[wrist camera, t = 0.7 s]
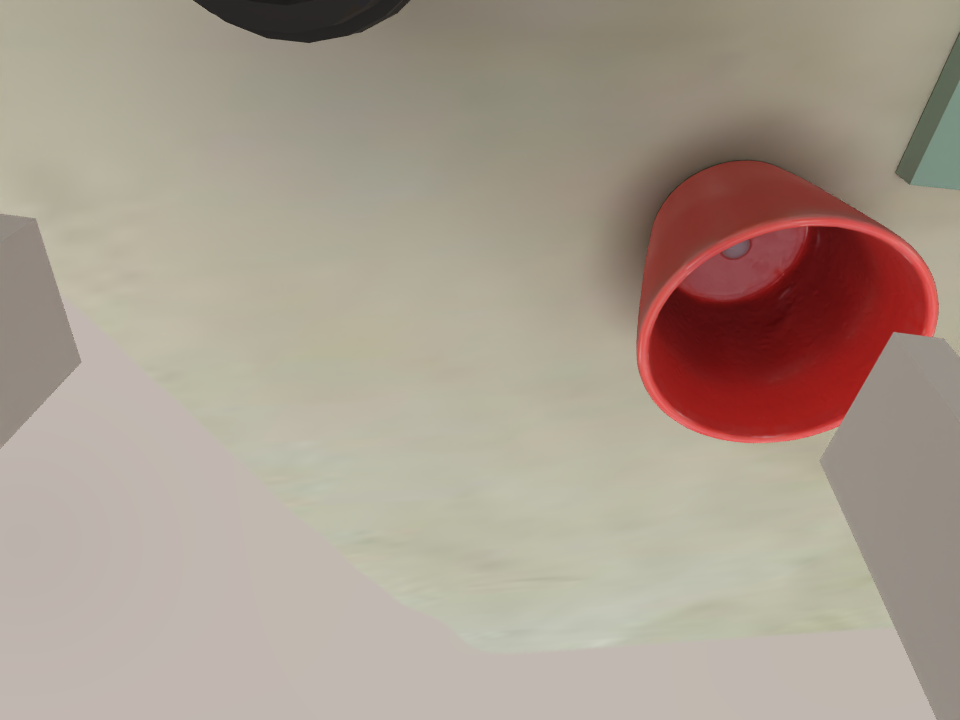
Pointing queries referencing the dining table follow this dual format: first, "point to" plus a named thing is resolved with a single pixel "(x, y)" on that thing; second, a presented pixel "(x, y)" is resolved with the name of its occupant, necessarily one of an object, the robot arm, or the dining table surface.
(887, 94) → the dining table surface
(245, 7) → the coffee cup
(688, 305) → the flower pot
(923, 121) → the board
